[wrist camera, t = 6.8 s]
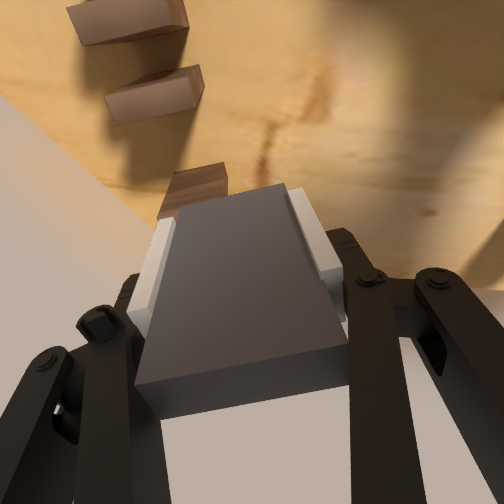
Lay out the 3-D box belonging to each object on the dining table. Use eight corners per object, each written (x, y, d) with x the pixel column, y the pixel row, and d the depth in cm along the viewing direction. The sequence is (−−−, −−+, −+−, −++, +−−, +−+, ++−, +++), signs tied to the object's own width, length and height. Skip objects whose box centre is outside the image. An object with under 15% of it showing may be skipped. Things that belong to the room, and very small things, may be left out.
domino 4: (180, 206, 17) (133, 385, 8) (283, 182, 17) (349, 343, 8) (191, 235, 19) (161, 420, 10) (288, 213, 18) (350, 384, 9)
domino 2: (140, 77, 31) (104, 96, 22) (199, 64, 30) (186, 77, 21) (148, 99, 32) (116, 125, 23) (204, 86, 31) (194, 108, 22)
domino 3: (174, 172, 36) (156, 217, 27) (223, 162, 36) (221, 204, 27) (180, 187, 38) (164, 236, 29) (227, 177, 37) (227, 223, 28)
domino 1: (118, 15, 28) (65, 7, 19) (182, -1, 27) (160, -17, 18) (128, 42, 29) (82, 46, 20) (189, 27, 28) (171, 24, 19)
